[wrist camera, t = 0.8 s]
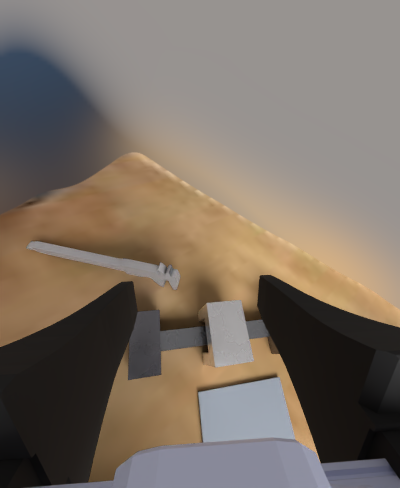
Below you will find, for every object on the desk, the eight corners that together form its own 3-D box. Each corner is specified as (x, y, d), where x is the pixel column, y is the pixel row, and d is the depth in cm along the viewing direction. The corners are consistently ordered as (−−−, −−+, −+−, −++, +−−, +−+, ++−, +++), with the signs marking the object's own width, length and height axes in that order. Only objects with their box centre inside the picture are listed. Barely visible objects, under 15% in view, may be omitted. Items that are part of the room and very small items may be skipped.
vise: (292, 350, 26) (312, 350, 23) (132, 375, 22) (128, 380, 18) (278, 304, 29) (294, 297, 25) (134, 318, 24) (130, 312, 21)
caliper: (178, 283, 28) (183, 267, 22) (176, 291, 27) (180, 276, 22) (32, 243, 27) (1, 215, 21) (27, 250, 26) (-7, 223, 21)
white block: (235, 359, 24) (253, 361, 20) (203, 364, 24) (215, 367, 19) (226, 309, 27) (240, 299, 22) (197, 311, 26) (206, 303, 22)
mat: (300, 467, 21) (303, 469, 20) (207, 496, 18) (208, 499, 18) (277, 376, 24) (279, 377, 24) (197, 391, 22) (198, 392, 22)
